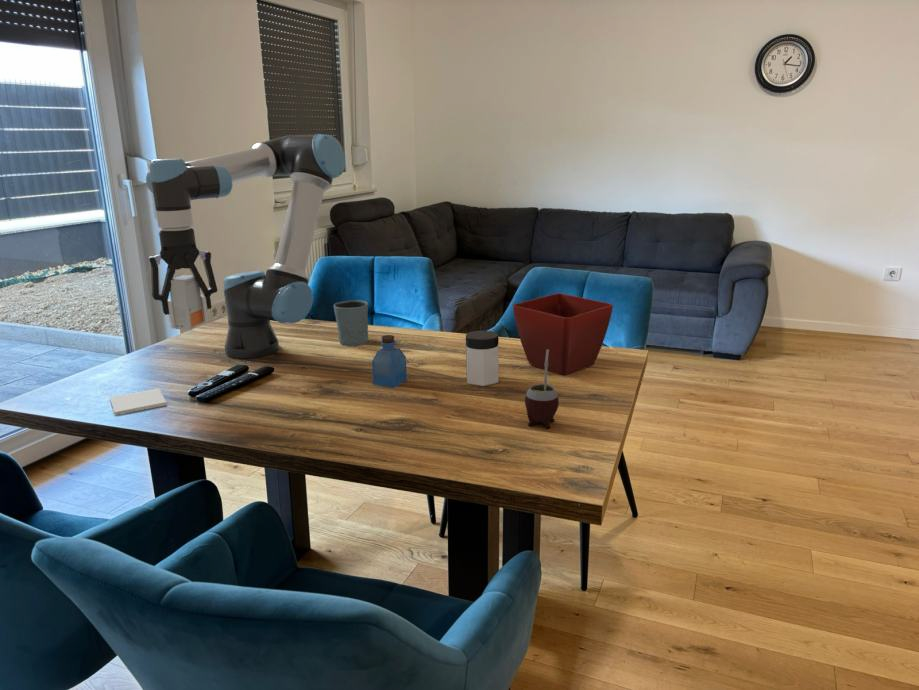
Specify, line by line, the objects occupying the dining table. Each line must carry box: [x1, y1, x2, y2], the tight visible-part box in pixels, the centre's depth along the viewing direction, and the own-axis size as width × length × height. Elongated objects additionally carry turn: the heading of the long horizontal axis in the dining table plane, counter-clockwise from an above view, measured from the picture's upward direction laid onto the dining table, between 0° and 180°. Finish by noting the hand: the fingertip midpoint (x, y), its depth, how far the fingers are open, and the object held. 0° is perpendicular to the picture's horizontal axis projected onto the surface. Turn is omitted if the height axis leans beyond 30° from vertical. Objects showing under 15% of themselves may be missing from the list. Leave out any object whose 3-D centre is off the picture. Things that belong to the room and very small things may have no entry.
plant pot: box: [512, 292, 614, 376], centre depth 177 cm, size 19×19×17 cm
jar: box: [465, 330, 500, 387], centre depth 168 cm, size 9×8×12 cm
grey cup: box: [333, 299, 369, 347], centre depth 202 cm, size 10×10×12 cm
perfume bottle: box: [371, 334, 408, 389], centre depth 168 cm, size 6×6×12 cm
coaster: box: [109, 388, 168, 416], centre depth 159 cm, size 11×11×1 cm
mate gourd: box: [524, 349, 560, 430], centre depth 142 cm, size 8×8×15 cm
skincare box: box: [169, 274, 205, 331], centre depth 159 cm, size 6×4×12 cm
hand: (189, 324), depth 161 cm, fingers closed on skincare box, 7 cm apart
